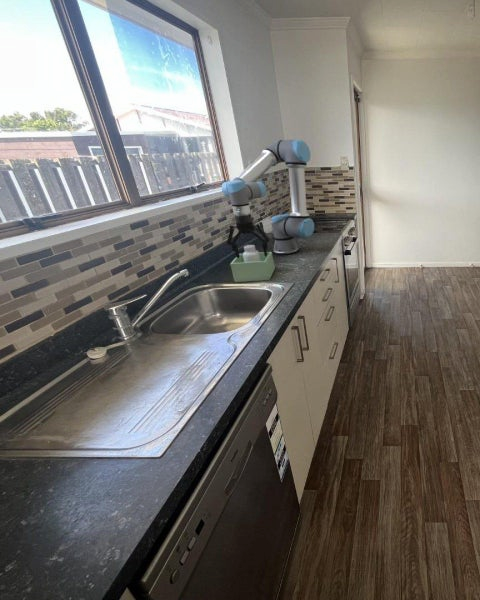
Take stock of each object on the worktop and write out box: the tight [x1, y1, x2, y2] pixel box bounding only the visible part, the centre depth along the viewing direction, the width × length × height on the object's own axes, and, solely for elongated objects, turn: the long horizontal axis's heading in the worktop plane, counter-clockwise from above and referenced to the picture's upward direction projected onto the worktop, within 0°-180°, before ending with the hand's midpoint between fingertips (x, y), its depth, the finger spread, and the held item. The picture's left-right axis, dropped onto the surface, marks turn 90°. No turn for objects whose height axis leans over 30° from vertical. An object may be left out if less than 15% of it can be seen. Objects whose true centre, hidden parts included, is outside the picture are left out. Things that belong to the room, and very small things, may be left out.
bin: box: [229, 251, 276, 283], centre depth 170 cm, size 17×17×10 cm
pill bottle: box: [242, 244, 261, 262], centre depth 168 cm, size 8×8×15 cm
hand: (252, 256), depth 168 cm, fingers open, 13 cm apart
